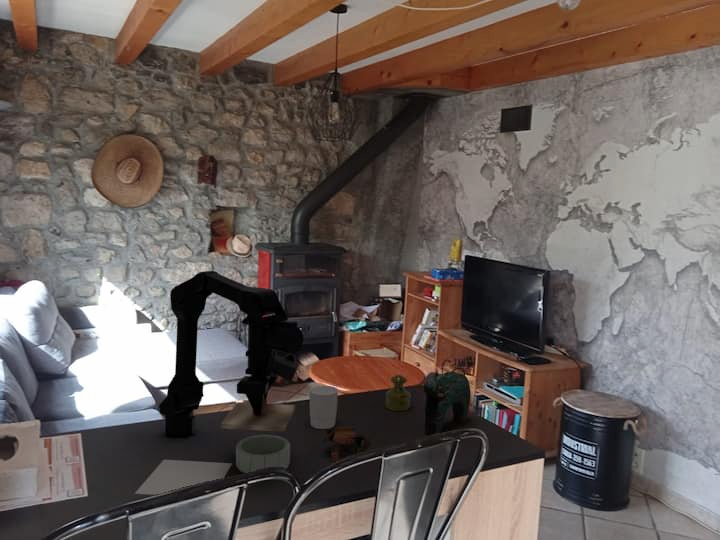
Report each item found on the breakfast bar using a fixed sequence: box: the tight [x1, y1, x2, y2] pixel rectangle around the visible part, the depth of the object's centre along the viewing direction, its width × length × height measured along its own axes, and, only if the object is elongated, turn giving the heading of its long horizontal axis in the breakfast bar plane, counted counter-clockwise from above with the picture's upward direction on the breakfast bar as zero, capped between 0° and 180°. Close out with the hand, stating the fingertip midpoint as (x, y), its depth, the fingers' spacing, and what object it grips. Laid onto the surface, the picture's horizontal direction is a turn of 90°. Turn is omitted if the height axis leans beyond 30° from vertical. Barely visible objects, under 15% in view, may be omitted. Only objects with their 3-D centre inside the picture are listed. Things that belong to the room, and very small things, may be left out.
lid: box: [220, 399, 296, 433], centre depth 136 cm, size 14×14×5 cm
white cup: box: [309, 385, 339, 430], centre depth 164 cm, size 8×8×10 cm
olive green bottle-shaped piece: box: [385, 374, 412, 412], centre depth 180 cm, size 7×7×10 cm
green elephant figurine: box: [423, 358, 471, 436], centre depth 164 cm, size 20×6×20 cm, turn 139°
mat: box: [134, 459, 233, 496], centre depth 129 cm, size 16×16×1 cm
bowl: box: [235, 434, 291, 474], centre depth 137 cm, size 12×12×5 cm
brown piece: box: [322, 426, 372, 463], centre depth 145 cm, size 12×10×8 cm
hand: (259, 412), depth 136 cm, fingers closed on lid, 3 cm apart
